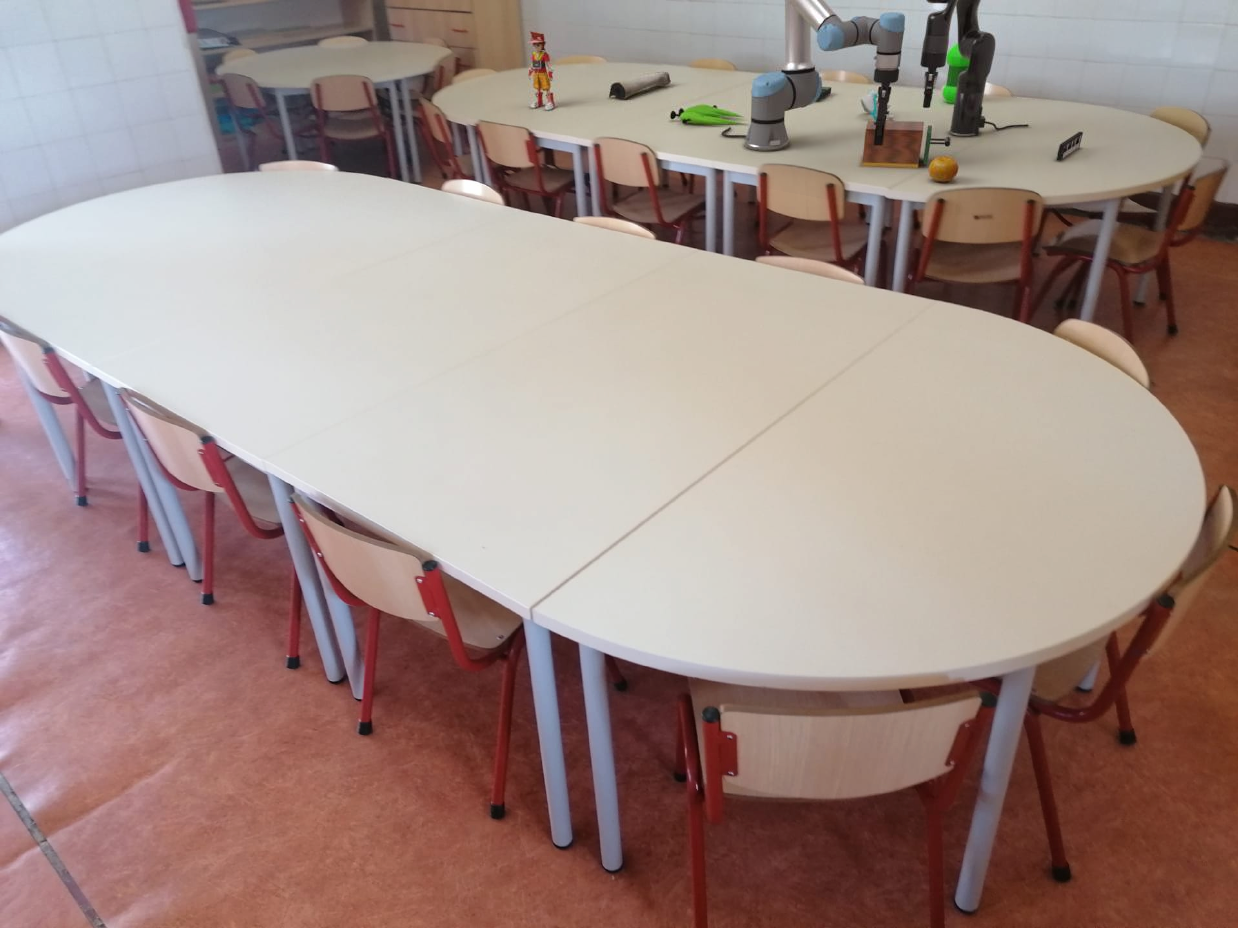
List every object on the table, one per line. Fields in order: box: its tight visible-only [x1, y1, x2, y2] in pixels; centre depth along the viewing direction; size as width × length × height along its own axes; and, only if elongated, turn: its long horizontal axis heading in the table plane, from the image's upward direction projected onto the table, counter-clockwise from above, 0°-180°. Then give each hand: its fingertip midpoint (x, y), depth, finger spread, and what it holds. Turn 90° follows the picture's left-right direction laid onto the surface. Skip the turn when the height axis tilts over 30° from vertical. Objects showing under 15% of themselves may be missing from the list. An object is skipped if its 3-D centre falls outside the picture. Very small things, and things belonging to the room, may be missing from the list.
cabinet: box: [861, 120, 925, 169], centre depth 293 cm, size 18×10×12 cm, turn 73°
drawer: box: [919, 125, 951, 165], centre depth 291 cm, size 23×9×10 cm, turn 73°
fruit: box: [928, 155, 959, 183], centre depth 276 cm, size 8×8×8 cm
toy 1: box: [527, 31, 556, 111], centre depth 374 cm, size 12×9×30 cm
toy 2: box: [669, 104, 746, 125], centre depth 349 cm, size 28×5×30 cm
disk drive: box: [815, 86, 832, 102], centre depth 372 cm, size 10×3×15 cm
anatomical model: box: [860, 90, 895, 121], centre depth 340 cm, size 15×10×10 cm
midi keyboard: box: [1056, 131, 1084, 161], centre depth 291 cm, size 18×1×5 cm, turn 138°
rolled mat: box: [608, 71, 672, 101], centre depth 395 cm, size 30×9×10 cm
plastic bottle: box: [942, 42, 970, 104], centre depth 348 cm, size 10×10×25 cm
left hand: (879, 140), depth 293 cm, fingers closed on cabinet, 10 cm apart
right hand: (927, 104), depth 287 cm, fingers open, 8 cm apart
